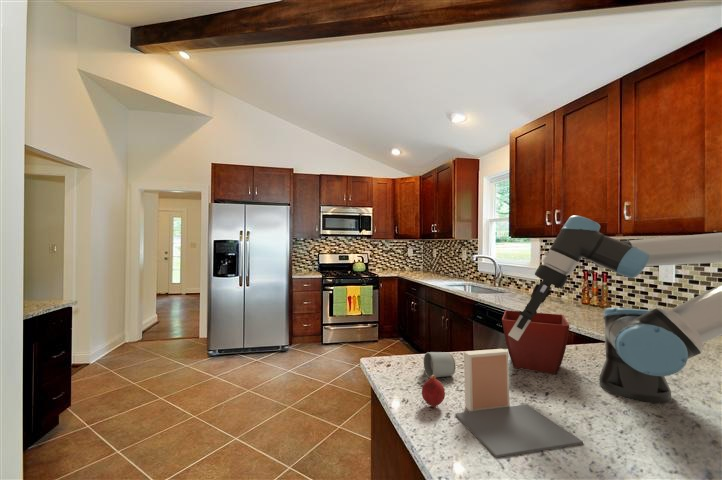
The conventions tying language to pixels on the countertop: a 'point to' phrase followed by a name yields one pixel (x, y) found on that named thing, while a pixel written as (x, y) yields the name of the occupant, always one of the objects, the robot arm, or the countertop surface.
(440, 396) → the onion
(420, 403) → the countertop surface
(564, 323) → the plant pot
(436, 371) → the ceramic mug
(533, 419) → the mat
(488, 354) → the tile
